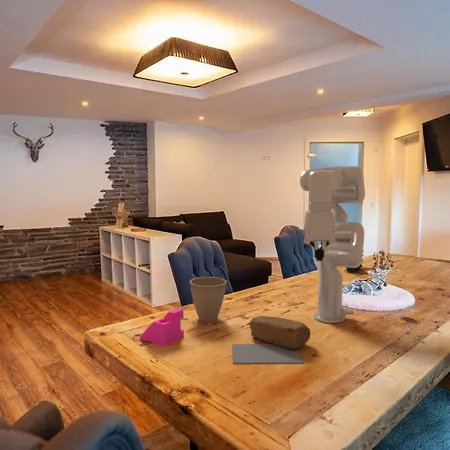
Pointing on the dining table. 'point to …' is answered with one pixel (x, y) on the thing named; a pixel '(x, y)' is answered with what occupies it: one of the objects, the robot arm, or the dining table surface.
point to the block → (280, 331)
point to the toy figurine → (354, 268)
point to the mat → (264, 354)
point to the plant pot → (208, 297)
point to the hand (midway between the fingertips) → (319, 260)
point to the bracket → (165, 329)
